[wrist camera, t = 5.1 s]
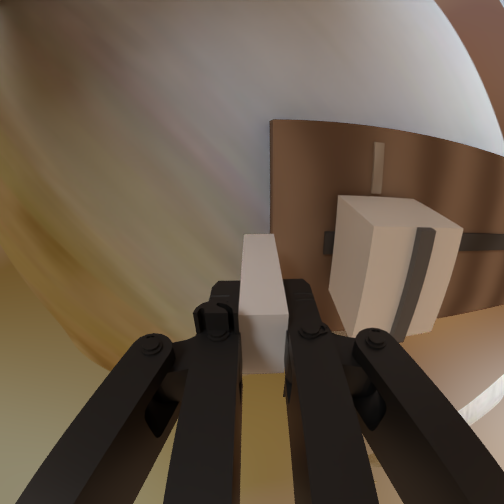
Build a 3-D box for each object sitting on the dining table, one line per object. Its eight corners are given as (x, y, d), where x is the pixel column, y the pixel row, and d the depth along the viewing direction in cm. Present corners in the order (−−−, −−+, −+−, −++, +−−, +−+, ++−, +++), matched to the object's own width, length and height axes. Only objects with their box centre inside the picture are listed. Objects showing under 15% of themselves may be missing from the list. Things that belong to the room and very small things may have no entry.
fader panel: (269, 309, 22) (271, 336, 19) (269, 121, 16) (273, 119, 13) (519, 284, 22) (534, 297, 19) (545, 174, 16) (564, 182, 13)
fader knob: (328, 289, 17) (352, 349, 12) (338, 195, 15) (377, 230, 10) (396, 285, 17) (433, 336, 12) (413, 198, 14) (468, 231, 10)
